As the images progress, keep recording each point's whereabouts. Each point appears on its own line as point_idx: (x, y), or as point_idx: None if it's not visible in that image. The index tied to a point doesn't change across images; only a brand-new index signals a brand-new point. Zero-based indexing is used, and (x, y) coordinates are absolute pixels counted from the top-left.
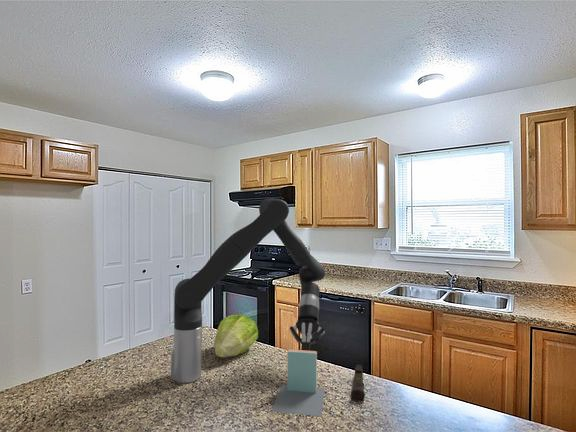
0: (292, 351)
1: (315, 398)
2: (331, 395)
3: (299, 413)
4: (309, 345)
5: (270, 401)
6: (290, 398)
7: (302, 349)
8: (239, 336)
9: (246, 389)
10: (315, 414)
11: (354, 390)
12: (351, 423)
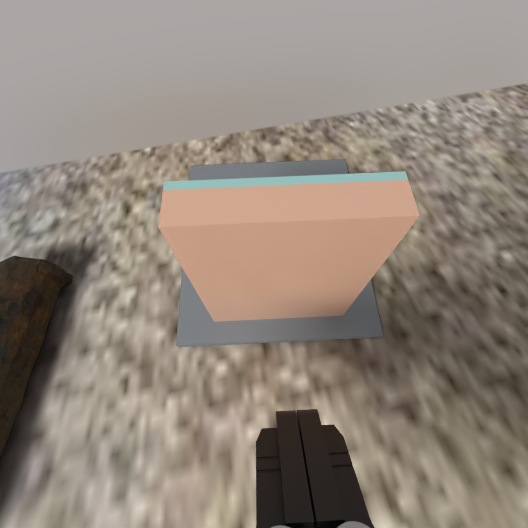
0: (369, 182)
1: None
2: (151, 307)
3: (257, 164)
4: (259, 501)
5: None
6: None
7: (331, 446)
8: None
9: (508, 277)
10: (209, 169)
11: (36, 259)
12: (106, 168)
